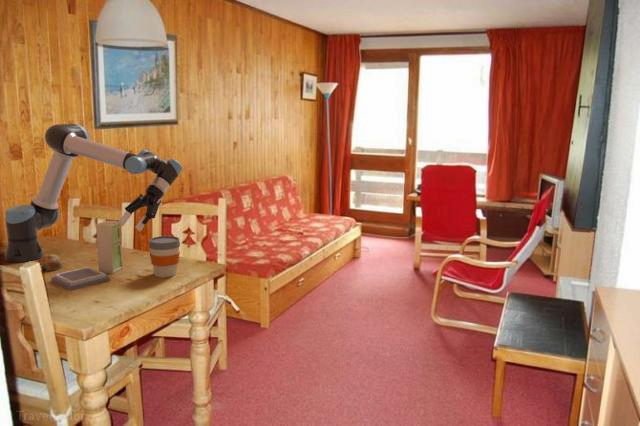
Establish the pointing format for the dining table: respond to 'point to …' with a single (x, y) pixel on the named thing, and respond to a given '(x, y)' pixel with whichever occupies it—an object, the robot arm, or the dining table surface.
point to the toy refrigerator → (109, 246)
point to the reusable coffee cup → (164, 255)
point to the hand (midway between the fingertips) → (128, 227)
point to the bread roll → (50, 262)
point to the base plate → (79, 278)
